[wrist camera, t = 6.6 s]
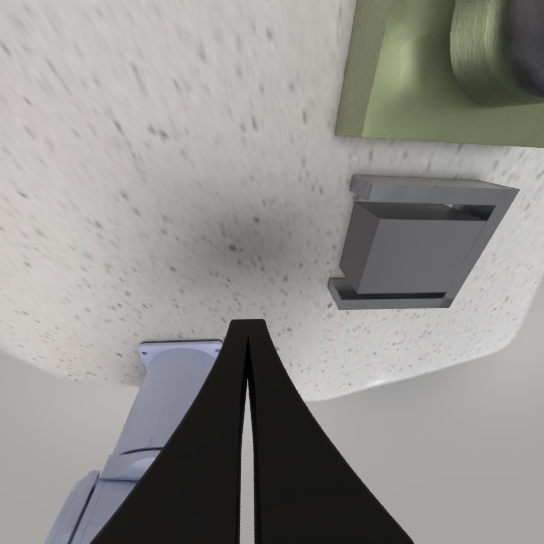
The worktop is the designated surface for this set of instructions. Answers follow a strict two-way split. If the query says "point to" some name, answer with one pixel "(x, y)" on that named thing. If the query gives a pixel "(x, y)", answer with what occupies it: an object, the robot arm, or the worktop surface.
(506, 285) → the worktop surface
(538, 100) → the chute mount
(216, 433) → the robot arm
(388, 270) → the grey block
